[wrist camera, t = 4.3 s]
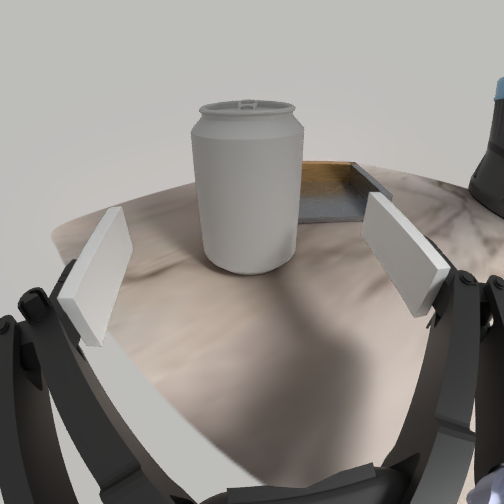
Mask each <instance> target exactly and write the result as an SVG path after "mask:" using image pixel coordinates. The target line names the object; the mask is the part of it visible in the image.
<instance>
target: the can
mask: <svg viewBox="0 0 504 504" xmlns="http://www.w3.org/2000/svg"><path fill="white" fill-rule="evenodd" d="M294 110H295V106H293V105H291V104H288V103H284V102H276V101H260V100H241V101H229V102H220V103H214V104H208V105H205V106H202V107H201V108H200V109H199V112H200V113H202V117H201V118H200V120H199V121H198V122H197V124H196V125H195V126H194V127H193V129H192V131H191V140H192V151H193V161H194V171H195V181H196V190H197V199H198V208H199V216H200V224H201V232H202V240H203V247H204V252H205V254H206V255H207V257H208V259H209V260H210V261H212V262H213V263H214V264H215V265H217V266H218V267H221V268H224V269H225V270H227V271H230V272H233V273H235V274H242V275H257V274H263V273H266V272H269V271H272V270H273V269H275V268H278V267H280V266H281V265H283V264H284V263H286V262H287V261H289V260H290V258H291V257H292V256H293V254H294V253H295V248H296V239H297V227H298V215H299V202H300V189H301V174H302V156H303V138H304V127H303V126H302V125H301V124H300V122H299V121H298V120H297V119H296V118H295V117H294V115H293V111H294Z"/></svg>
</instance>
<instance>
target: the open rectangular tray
mask: <svg viewBox="0 0 504 504" xmlns="http://www.w3.org/2000/svg"><path fill="white" fill-rule="evenodd" d="M369 192H381V193H382V194H383V195H384V196H385V197H386V198H387V199H388V200H389V201H390V202H391V201H392V196H393V195H392V194H391V193H390V192H389V191H387V190H386V189H385V188H384V187H383V186H382V185H381V184H380V183H379V182H377V181H376V180H375V179H374V178H373V177H372V176H371V175H369V174H368V173H367V172H366V171H365V170H364V169H362V168H361V167H360V166H359V165H358V164H356V163H355V162H334V161H302V174H301V189H300V202H299V215H298V224H301V223H324V222H351V221H364V216H365V211H366V206H367V201H368V196H369Z"/></svg>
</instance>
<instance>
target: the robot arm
mask: <svg viewBox="0 0 504 504" xmlns="http://www.w3.org/2000/svg"><path fill="white" fill-rule="evenodd" d="M494 101H495V108H494V114H493V121H492V126H491V132H490V138H489V142H488V147H487V151H486V154H485V155H484V157H483V159H482V160H481V162H480V164H479V165H478V167H477V169H476V170H475V172H474V174H473V175H472V177H471V180H470V184H469V191H470V192H471V194H472V195H473V196H474V197H475V198H476V199H477V200H478V201H480V202H481V203H482V204H483V205H485V206H486V207H487V208H489V209H490V210H492V211H493V212H495V213H496V214H498V215H500V216H501V217H503V218H504V77H502V78H500V79H499V80H498V82H497V89H496V95H495V98H494ZM361 236H362V237H363V239H364V240H365V241H366V243H367V244H368V246H369V247H370V249H371V250H372V252H373V253H374V255H375V256H376V257H377V259H378V260H379V262H380V264H381V265H382V267H383V268H384V270H385V271H386V273H387V274H388V276H389V277H390V279H391V281H392V282H393V284H394V285H395V287H396V289H397V290H398V292H399V293H400V295H401V297H402V298H403V300H404V302H405V303H406V305H407V307H408V308H409V310H410V312H411V313H412V315H413V317H414V318H416V317H421V316H425V315H427V314H428V312H429V310H430V308H431V306H433V307H434V309H435V313H434V315H433V316H432V318H431V320H430V321H429V323H428V325H427V327H426V328H427V329H428V328H429V326H430V325H431V328H430V333H429V338H428V342H427V347H426V351H425V356H424V360H423V364H422V368H421V371H420V375H419V379H418V382H417V385H416V389H415V392H414V395H413V398H412V402H411V405H410V408H409V411H408V413H407V416H406V419H405V422H404V424H403V427H402V430H401V432H400V435H399V437H398V440H397V442H396V444H395V446H394V448H393V449H392V450H391V452H390V453H389V454H388V455H387V457H386V458H385V460H384V462H383V464H382V465H381V467H374V466H373V462H372V463H369V464H366V465H362V466H359V467H356V468H352V469H349V470H345V471H341V472H339V473H337V474H335V475H333V476H331V477H329V478H327V479H325V480H323V481H320V482H318V483H316V484H314V485H312V486H309V487H307V488H287V487H274V486H255V487H241V488H227V492H224V493H220V494H218V495H215V496H212V497H210V498H208V499H206V500H205V501H203V502H202V503H200V504H457V502H458V499H459V496H460V494H461V491H462V488H463V485H464V482H465V479H466V476H467V473H468V470H469V466H470V463H471V459H472V455H473V451H474V447H475V455H474V480H475V488H474V489H472V490H471V491H469V493H468V494H467V498H466V500H467V503H468V504H504V280H503V279H502V278H501V277H498V276H496V275H491V276H490V277H489V279H488V280H487V282H486V283H479V282H478V281H477V280H476V278H475V277H474V276H473V275H472V274H470V273H469V272H467V271H463V270H457V269H456V268H455V267H454V265H453V264H452V263H451V262H450V261H449V259H448V258H447V257H446V256H445V255H444V254H443V252H442V251H441V250H440V249H438V247H437V246H436V245H435V243H434V242H433V241H432V240H430V239H429V238H427V237H426V236H424V235H422V234H421V233H420V232H419V230H418V229H417V228H416V227H415V226H414V225H413V224H412V223H411V222H410V221H409V220H408V219H407V218H406V217H405V216H404V215H403V214H402V213H401V212H400V211H399V210H398V209H397V208H396V207H395V206H394V205H393V204H392V203H391V202H390V201H389V200H388V199H387V198H386V197H385V196H384V195H383V194H382V193H381V192H369V196H368V201H367V206H366V211H365V216H364V221H363V225H362V230H361ZM133 250H134V249H133V245H132V242H131V238H130V235H129V231H128V227H127V224H126V220H125V216H124V212H123V208H122V206H118V207H110V208H109V209H108V210H107V212H106V213H105V215H104V216H103V218H102V219H101V221H100V222H99V224H98V225H97V227H96V229H95V230H94V232H93V233H92V235H91V237H90V238H89V240H88V242H87V243H86V245H85V247H84V249H83V250H82V252H81V254H80V255H79V257H78V259H74V260H72V261H71V262H70V263H69V264H68V265H67V266H66V267H65V269H64V271H63V272H62V274H61V276H60V278H59V280H58V283H56V285H55V287H54V289H53V291H52V293H51V295H50V297H49V298H48V297H47V295H46V293H45V292H44V290H43V289H42V288H39V287H37V288H32V289H30V290H28V291H27V292H26V293H24V294H23V296H22V297H21V298H20V300H19V302H18V309H19V311H20V312H21V313H22V315H23V316H24V318H25V319H26V320H25V321H22V322H18V323H17V322H16V320H15V319H14V318H13V316H11V315H6V316H3V317H2V318H0V489H1V492H2V496H3V500H4V504H79V503H78V501H77V498H76V496H75V493H74V491H73V488H72V485H71V482H70V479H69V476H68V473H67V470H66V467H65V463H64V460H63V457H62V453H61V449H60V446H59V441H58V437H57V433H56V429H55V424H54V419H53V414H52V409H51V403H50V396H49V390H50V393H51V395H52V398H53V400H54V403H55V405H56V407H57V410H58V412H59V414H60V416H61V418H62V420H63V423H64V425H65V427H66V429H67V431H68V433H69V435H70V437H71V439H72V441H73V442H74V444H75V446H76V448H77V450H78V452H79V453H80V455H81V457H82V459H83V460H84V462H85V464H86V465H87V467H88V469H89V470H90V472H91V473H92V475H93V477H94V478H95V480H96V481H97V483H98V485H99V486H100V489H101V490H100V494H99V495H100V498H101V501H102V502H103V504H197V503H196V502H195V501H194V500H193V499H192V498H191V497H190V496H189V495H188V494H187V493H186V492H185V491H184V490H183V489H182V488H181V487H180V486H178V485H177V484H176V483H175V482H174V481H172V480H171V479H170V478H169V477H168V476H167V475H166V473H165V472H164V471H163V470H162V469H161V468H160V466H159V465H158V464H157V463H156V462H155V461H154V459H153V458H152V457H151V456H150V455H149V453H148V452H147V451H146V450H145V448H144V447H143V446H142V444H141V443H140V442H139V440H138V439H137V438H136V437H135V435H134V434H133V433H132V431H131V430H130V429H129V427H128V426H127V424H126V423H125V421H124V420H123V418H122V417H121V415H120V414H119V412H118V411H117V409H116V408H115V406H114V405H113V403H112V402H111V400H110V399H109V397H108V396H107V394H106V393H105V391H104V389H103V387H102V386H101V384H100V382H99V380H98V379H97V377H96V375H95V374H94V372H93V370H92V368H91V367H90V365H89V363H88V361H87V359H86V357H85V355H84V353H83V351H82V349H81V348H80V346H79V345H78V343H79V341H80V338H82V340H83V341H84V342H85V344H86V345H87V346H100V347H101V346H102V345H103V341H104V337H105V334H106V330H107V327H108V323H109V320H110V317H111V313H112V310H113V307H114V304H115V301H116V298H117V295H118V292H119V289H120V286H121V283H122V280H123V277H124V274H125V271H126V269H127V266H128V263H129V260H130V258H131V255H132V253H133ZM492 318H493V320H494V321H493V325H492V326H490V323H489V322H490V321H491V319H492ZM48 388H49V390H48ZM474 398H475V417H476V431H475V432H472V431H470V428H469V427H470V421H471V416H472V410H473V404H474Z"/></svg>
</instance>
